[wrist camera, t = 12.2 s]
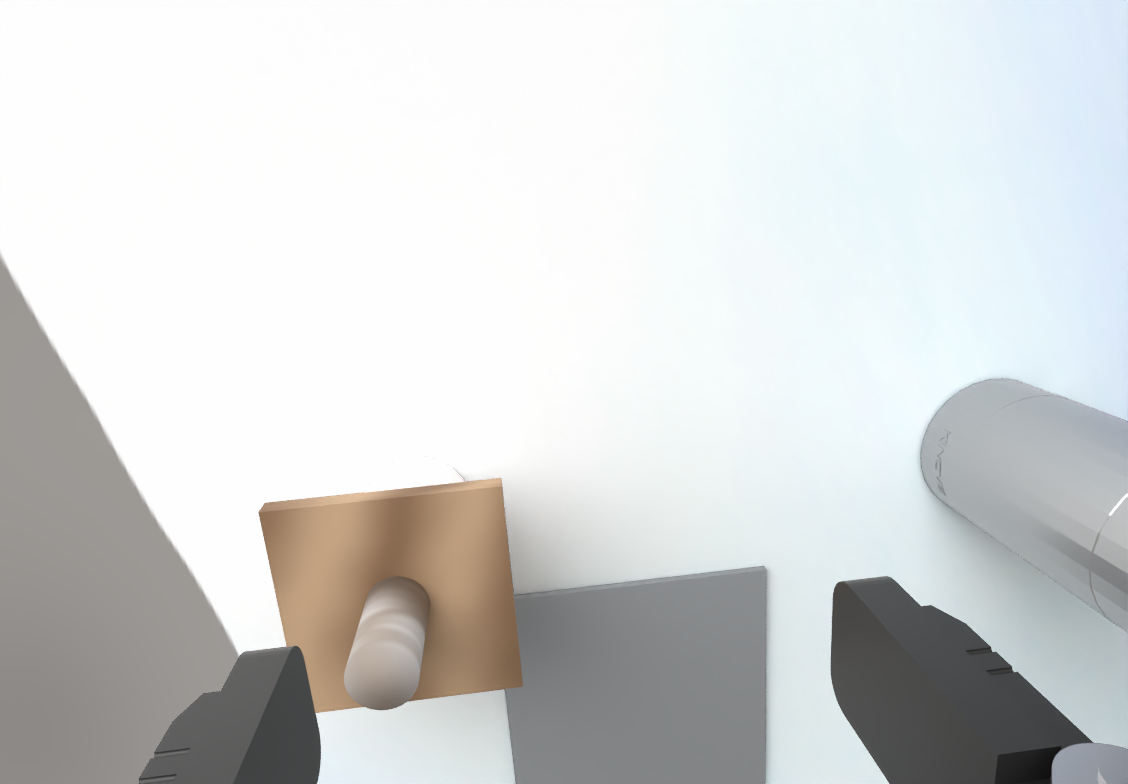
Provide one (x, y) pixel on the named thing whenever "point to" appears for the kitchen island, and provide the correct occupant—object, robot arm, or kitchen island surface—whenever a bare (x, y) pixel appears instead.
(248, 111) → the kitchen island surface
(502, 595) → the lid
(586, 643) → the mat
